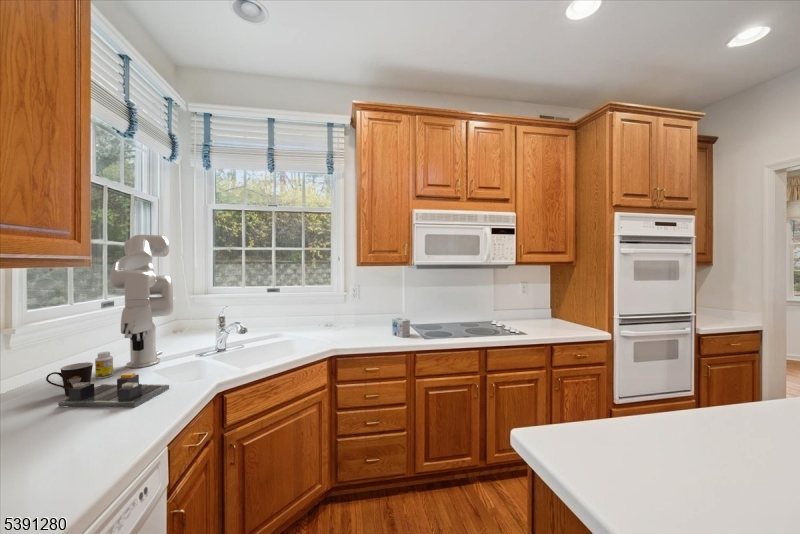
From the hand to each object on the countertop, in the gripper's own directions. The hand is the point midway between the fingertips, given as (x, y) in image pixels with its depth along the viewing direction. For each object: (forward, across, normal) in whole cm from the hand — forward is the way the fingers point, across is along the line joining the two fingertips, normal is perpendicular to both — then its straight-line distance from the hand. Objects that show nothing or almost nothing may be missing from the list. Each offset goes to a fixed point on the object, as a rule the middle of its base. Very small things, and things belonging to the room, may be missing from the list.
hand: (138, 350), depth 127 cm
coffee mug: (+15, +7, -19) cm, 25 cm away
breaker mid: (+12, +5, +1) cm, 14 cm away
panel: (+14, +10, +1) cm, 17 cm away
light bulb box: (+15, -92, +99) cm, 136 cm away
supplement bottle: (+15, -10, -24) cm, 30 cm away
